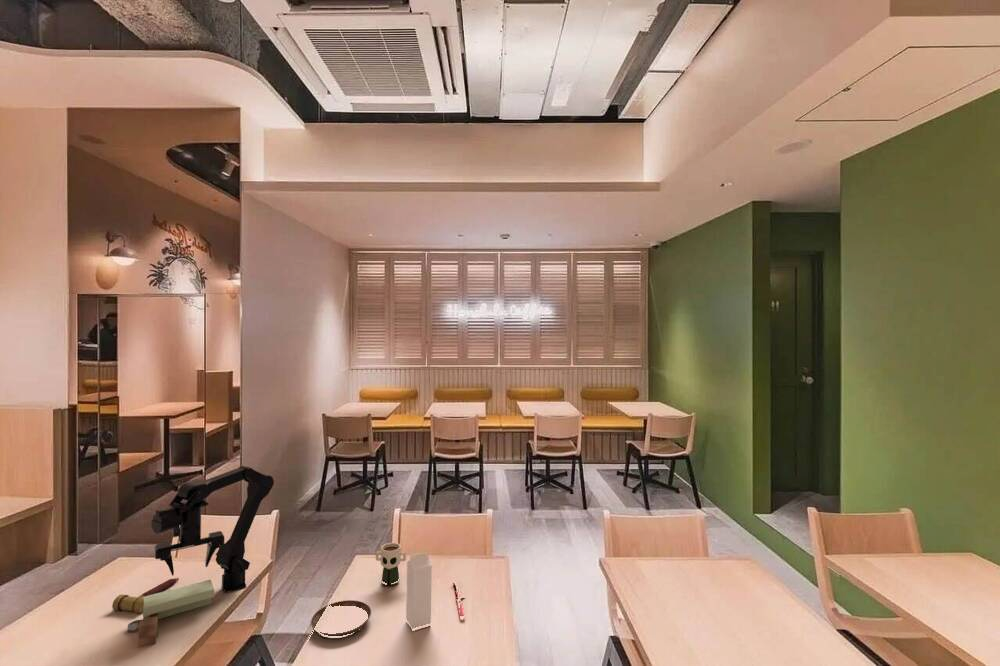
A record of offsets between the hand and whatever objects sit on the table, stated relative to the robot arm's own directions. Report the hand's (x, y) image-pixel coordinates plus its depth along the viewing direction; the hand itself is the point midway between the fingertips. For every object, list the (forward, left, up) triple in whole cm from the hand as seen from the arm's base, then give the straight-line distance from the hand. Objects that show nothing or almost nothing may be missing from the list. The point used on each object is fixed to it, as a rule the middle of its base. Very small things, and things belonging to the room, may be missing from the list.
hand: (189, 570), depth 156 cm
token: (+14, +3, -12) cm, 19 cm away
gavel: (+9, -15, -13) cm, 22 cm away
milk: (-55, +52, -12) cm, 77 cm away
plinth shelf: (+3, +3, -12) cm, 13 cm away
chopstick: (-73, +48, -13) cm, 88 cm away
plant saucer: (-36, +38, -12) cm, 54 cm away
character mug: (-59, +24, -12) cm, 65 cm away
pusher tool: (+10, +9, -12) cm, 18 cm away
